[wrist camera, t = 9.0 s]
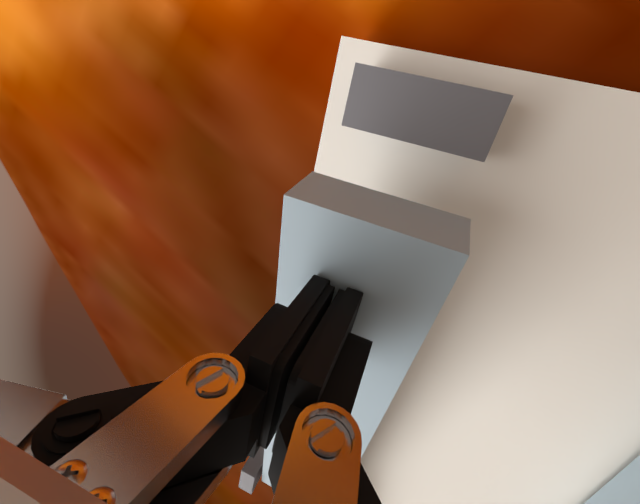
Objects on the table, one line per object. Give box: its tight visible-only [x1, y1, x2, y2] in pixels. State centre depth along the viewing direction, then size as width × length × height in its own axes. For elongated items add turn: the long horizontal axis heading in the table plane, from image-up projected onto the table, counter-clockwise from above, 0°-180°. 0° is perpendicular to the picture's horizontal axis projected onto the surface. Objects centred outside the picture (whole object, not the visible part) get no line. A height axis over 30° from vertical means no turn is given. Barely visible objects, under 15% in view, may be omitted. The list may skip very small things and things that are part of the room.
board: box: [239, 36, 640, 504], centre depth 16 cm, size 28×24×6 cm
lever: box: [262, 171, 471, 486], centre depth 16 cm, size 22×5×2 cm, turn 168°
